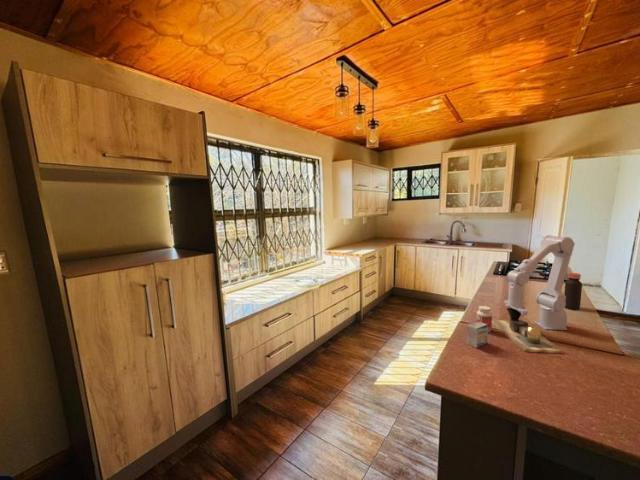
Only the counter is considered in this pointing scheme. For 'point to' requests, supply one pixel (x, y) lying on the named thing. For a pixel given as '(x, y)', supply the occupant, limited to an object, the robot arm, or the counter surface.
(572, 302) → the vinegar
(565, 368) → the counter surface
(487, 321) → the pill bottle
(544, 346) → the clamp jig
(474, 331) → the medicine box
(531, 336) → the cylinder
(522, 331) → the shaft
